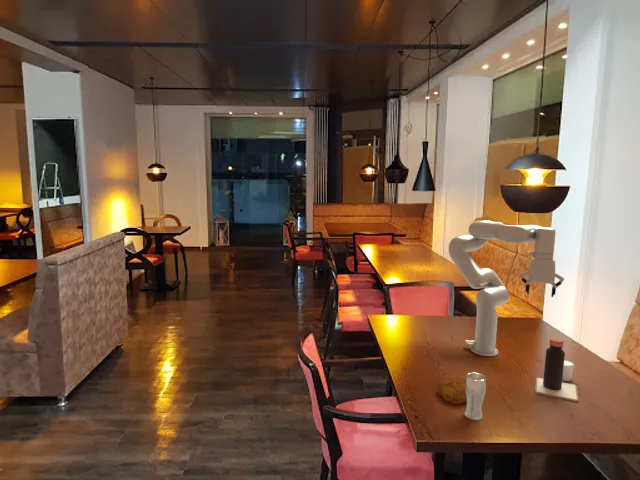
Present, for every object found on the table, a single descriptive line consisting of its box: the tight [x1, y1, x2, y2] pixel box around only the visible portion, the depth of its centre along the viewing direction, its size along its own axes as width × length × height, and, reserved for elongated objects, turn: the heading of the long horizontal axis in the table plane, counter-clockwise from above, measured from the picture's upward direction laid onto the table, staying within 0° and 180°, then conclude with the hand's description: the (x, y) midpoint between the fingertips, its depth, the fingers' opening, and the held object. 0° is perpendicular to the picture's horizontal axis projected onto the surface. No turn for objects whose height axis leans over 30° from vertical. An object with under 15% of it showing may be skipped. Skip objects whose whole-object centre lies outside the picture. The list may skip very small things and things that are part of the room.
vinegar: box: [543, 337, 566, 390], centre depth 190 cm, size 7×7×20 cm
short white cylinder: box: [562, 359, 575, 382], centre depth 201 cm, size 7×7×7 cm
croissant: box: [437, 376, 466, 405], centre depth 184 cm, size 14×16×8 cm
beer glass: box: [464, 372, 487, 421], centre depth 168 cm, size 7×7×15 cm
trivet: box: [534, 376, 579, 403], centre depth 190 cm, size 15×15×1 cm
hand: (539, 294), depth 204 cm, fingers open, 9 cm apart
